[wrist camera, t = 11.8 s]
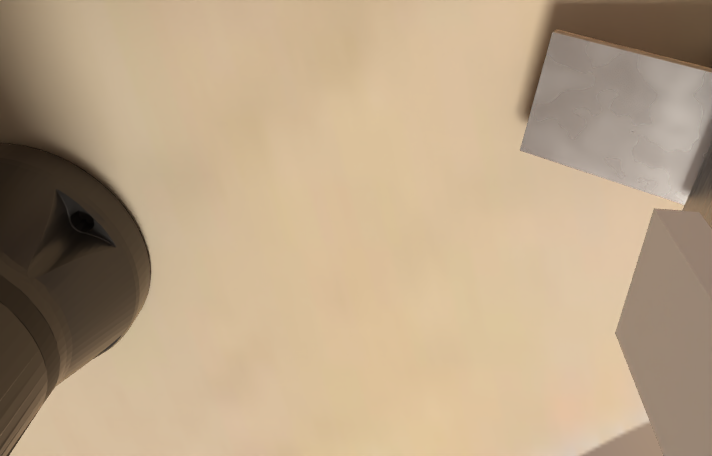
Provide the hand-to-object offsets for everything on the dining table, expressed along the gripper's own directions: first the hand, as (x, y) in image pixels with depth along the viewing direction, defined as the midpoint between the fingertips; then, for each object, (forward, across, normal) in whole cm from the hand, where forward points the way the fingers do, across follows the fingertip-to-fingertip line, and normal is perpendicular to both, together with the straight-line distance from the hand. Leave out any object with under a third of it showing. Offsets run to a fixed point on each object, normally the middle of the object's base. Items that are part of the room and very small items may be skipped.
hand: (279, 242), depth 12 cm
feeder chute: (+24, +14, -4) cm, 28 cm away
